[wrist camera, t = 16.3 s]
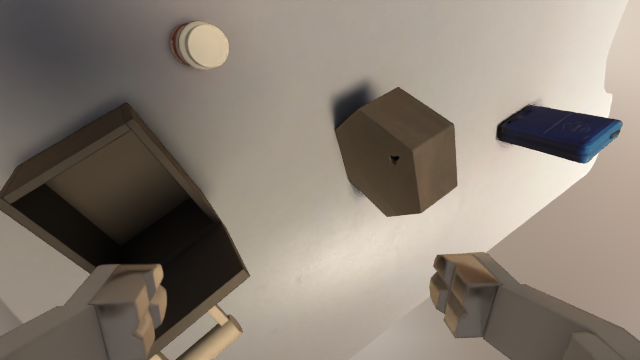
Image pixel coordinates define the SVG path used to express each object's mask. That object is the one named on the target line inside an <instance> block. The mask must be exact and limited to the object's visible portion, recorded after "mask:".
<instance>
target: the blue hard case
mask: <svg viewBox="0 0 640 360" xmlns="http://www.w3.org/2000/svg"><path fill="white" fill-rule="evenodd" d="M621 127H622V122H621V121H620V120H616V119H609V118H604V117H598V116H593V115H587V114H581V113H575V112H569V111H562V110H557V109H551V108H547V107H540V106H532V105H531V106H528V107H526V108H525V109H524V110H522V111H521V112H519V113H517V114H515V115H514V116H513V117H511V118H510V119H508V120H507V121H505V122H504V123H503V125H501V126H500V130H499V140H500V141H503V142H507V143H510V144H514V145H518V146H522V147H525V148H529V149H532V150H536V151H540V152H543V153H547V154H551V155H554V156H557V157H561V158H564V159H567V160H571V161H575V162H578V163H587V162H589V161H590V160H591V159H592V158H593V157H594V156H595V155H596V154H597V153H598V152H599V151H601V150H602V149H603V148H604V147H605V146H607V145H608V144H609V143H611V142H612V141H613V140H614V139H615V138H617V137H618V135H619V132H620V129H621Z"/></svg>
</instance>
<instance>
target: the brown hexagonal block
mask: <svg viewBox="0 0 640 360" xmlns="http://www.w3.org/2000/svg"><path fill="white" fill-rule="evenodd" d="M335 132H336V136H337V139H338V143H339V147H340V150H341V154H342V157H343V161H344V165H345V168H346V172H347V175H348V178H349V180H350V181H351V182H352V183H353V184H354V185H355V186H356V187H357V188H358V189H359V190H360V191H361V192H362V193H363V194H364V195H365V196H366V197H367V198H368V199H369V200H370V201H371V202H372V203H373V204H374V205H375V206H376V207H377V208H378V209H379V210H381V211H382V212H383V213H384V214H385V215H386V216H387V217H390V216H400V215H409V214H419V213H422V212H423V211H425V210H426V209H427V208H429V207H430V206H431V205H433V204H434V203H435V202H437V201H438V200H439V199H441V198H442V197H443V196H445V195H446V194H447V193H449V192H450V191H451V190H453V189H454V188H455V187H457V168H456V149H455V131H454V124H453V123H451V122H450V121H449V120H447V119H446V118H444V117H443V116H441V115H440V114H438V113H437V112H435V111H434V110H432V109H431V108H429V107H428V106H426V105H425V104H423V103H422V102H420V101H419V100H417V99H416V98H414V97H413V96H411V95H410V94H408V93H407V92H405V91H404V90H402V89H401V88H399V87H397V88H395V89H394V90H392V91H390V92H388V93H386V94H384V95H383V96H381V97H379V98H377V99H375V100H373V101H372V102H370V103H368V104H366V105H364V106H362V107H361V108H359V109H358V110H356V111H355V112H354V113H353V114H352V115H351V116H350V117H349V118H348V119H347V120H345V121H344V122H343V123H342V124H341V125H340V126H339V127H338V128H337V129H336V130H335Z"/></svg>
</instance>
